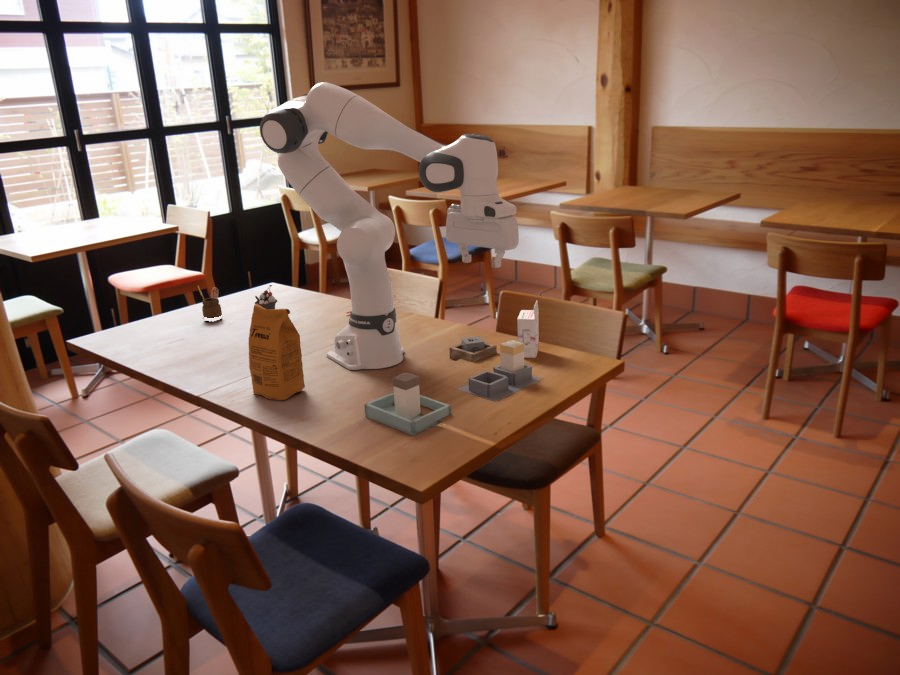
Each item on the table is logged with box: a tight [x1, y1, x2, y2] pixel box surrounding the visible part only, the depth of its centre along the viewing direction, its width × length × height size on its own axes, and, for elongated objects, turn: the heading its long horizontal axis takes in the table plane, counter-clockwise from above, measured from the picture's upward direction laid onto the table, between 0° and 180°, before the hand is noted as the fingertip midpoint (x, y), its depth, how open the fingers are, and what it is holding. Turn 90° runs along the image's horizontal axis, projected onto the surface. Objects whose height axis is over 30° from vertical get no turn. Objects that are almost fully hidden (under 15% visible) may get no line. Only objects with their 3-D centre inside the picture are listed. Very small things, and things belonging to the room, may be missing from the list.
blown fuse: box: [391, 371, 422, 419], centre depth 164 cm, size 4×4×9 cm
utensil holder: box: [197, 285, 223, 318], centre depth 244 cm, size 6×6×12 cm
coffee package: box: [248, 303, 306, 401], centre depth 179 cm, size 10×12×22 cm
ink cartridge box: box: [516, 299, 540, 359], centre depth 198 cm, size 9×5×15 cm, turn 168°
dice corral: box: [449, 342, 498, 363], centre depth 200 cm, size 9×9×3 cm
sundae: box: [254, 284, 278, 310], centre depth 227 cm, size 7×7×15 cm
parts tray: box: [364, 391, 452, 437], centre depth 165 cm, size 16×12×3 cm
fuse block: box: [457, 363, 544, 403], centre depth 179 cm, size 12×18×4 cm, turn 136°
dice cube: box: [460, 336, 485, 353], centre depth 200 cm, size 5×5×5 cm
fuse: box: [499, 339, 525, 372], centre depth 181 cm, size 4×4×9 cm
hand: (481, 264), depth 176 cm, fingers open, 8 cm apart
